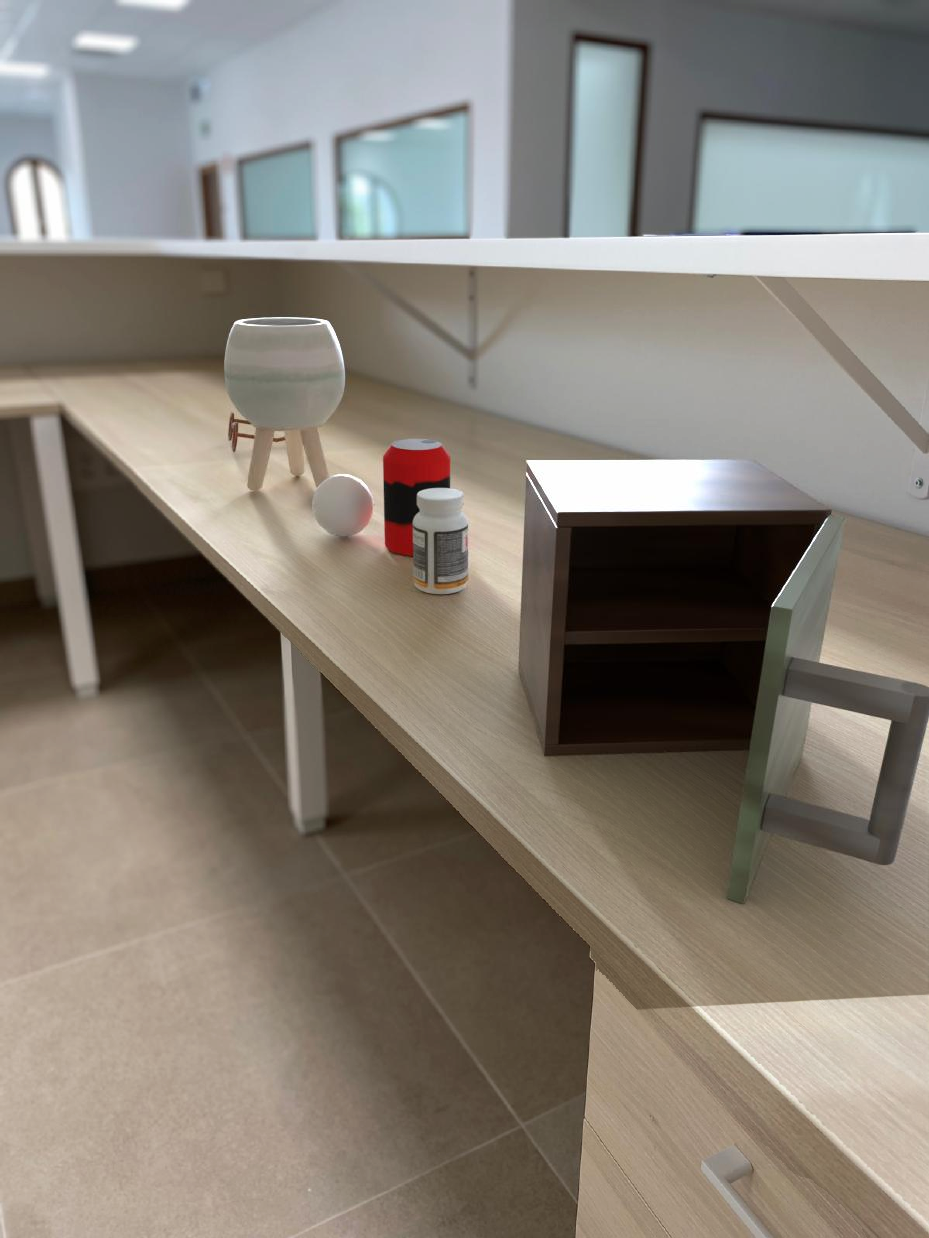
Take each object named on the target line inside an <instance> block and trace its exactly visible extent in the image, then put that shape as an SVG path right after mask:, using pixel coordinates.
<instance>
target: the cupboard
mask: <svg viewBox="0 0 929 1238" xmlns="http://www.w3.org/2000/svg"><path fill="white" fill-rule="evenodd" d="M525 473H526V474H525V493H524V494H525V497H524V519H523V520H524V521H523V542H522V544H523V545H522V567H521V568H522V569H521V589H520V590H521V593H520V617H519V643H518V668H517V670H518V674H519V677H520V680H521V683H522V687H523V690H524V695H525V697H526V701H527V704H528V707H529V711H530V714H531V717H532V721H533V725H534V727H535V728H534V729H535V731H536V735H537V738H538V741H539V745H540V747H541V752H542V755H543V757H570V756H572V757H573V756H574V757H575V756H604V755H605V756H606V755H607V756H609V755H640V754H641V755H643V754H673V753H675V754H676V753H709V752H741V751H743V752H744V751H749V749H750V742H751V736H752V729H753V723H754V716H755V710H756V704H757V697H758V691H759V684H760V678H761V671H762V665H763V658H764V652H765V646H766V639H767V633H768V626H769V620H770V613H771V607H772V605H773V603H774V602H775V600H776V599H777V597H778V596H779V594H780V592H781V591H782V589H783V588H784V586H785V584H786V583H787V581H788V580H789V578H790V576H791V575H792V573H793V572H794V570H795V569H796V567H797V565H798V564H799V562H800V561H801V559H802V557H803V556H804V554H805V553H806V551H807V549H808V548H809V546H810V545H811V543H812V542H813V540H814V538H815V537H816V535H817V534H818V532H819V530H820V529H821V527H822V526H823V524H824V522H825V521H826V519H827V518H828V516H829V515H832V513H833V510H832V509H831V508H830V507H828V506H826V505H825V504H823V502H820V501H819V500H817V499H816V498H814V497H813V496H811V495H810V494H808V493H806V492H804V491H803V490H802V489H800V488H798V487H797V486H795V484H792V483H791V482H789V481H788V480H786V479H784V478H783V477H782V476H780V475H778V474H777V473H775V472H774V471H772V470H770V469H769V468H767V467H766V466H765V465H763V464H761V463H760V462H758V461H756V460H755V459H599V460H598V459H596V460H595V459H590V460H589V459H588V460H587V459H586V460H583V459H581V460H575V459H573V460H572V459H571V460H562V459H561V460H526V470H525Z"/></svg>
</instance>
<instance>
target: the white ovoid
mask: <svg viewBox="0 0 929 1238" xmlns="http://www.w3.org/2000/svg"><path fill="white" fill-rule="evenodd" d="M329 477H330V478H328V479H326V480H324V481H323V482H322V483H321V484H320V485H319V486H318V488H317V487H316V489H315V492H314V494H313V495H312V503H311V508H312V509H311V510H312V513H313V517H314V519H315V520H316V522H317V523H318V525H319V526H320V527H321V528H322V529H323V530H324V531H325V532H327V533H329V534H331V535H334V536H336V537H337V536H338V537H350V536H351V537H352V536H353V535H356V534H359V533H360V532H361V531H363V530H364V529H365V528H367V526H368V525H369V523H370V522H371V520H372V517H373V515H374V508H375V507H376V504H375V502H374V497H373V494H372V493H371V490H370V488H369V487H368V486H367V484H365V483H364V482H363V481H362V480H361V479H360V478H358V477H356V476H353V475H350V474H346V473H345V474H334V475H332V476H329Z"/></svg>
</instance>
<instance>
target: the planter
mask: <svg viewBox="0 0 929 1238" xmlns="http://www.w3.org/2000/svg"><path fill="white" fill-rule="evenodd" d="M224 352H225V354H224V364H223V370H224V382H225V387H226V392H227V395H228V397H229V400H230V401H231V403H232V406H234V408H235V409H236V410H237V412H238V413H239V414H240V415H241V416H242V417H243V418H244V420H247V421H249V422H250V423H251V424H252V425H251V426H252V427H254V428H255V430H254V431H255V432H254V435H255V437H254V439H253V444H252V450H251V451H252V452H251V456H250V457H251V458H250V463H249V469H248V475H247V481H246V482H247V484H246V486H247V489H249V490H250V491H256V492H257V491H259V490H261V489H262V488H263V485H264V482H265V476H266V473H267V469H268V464H269V460H270V456H271V451H272V446H273V438H275V432H284V437H285V440H284V441H285V446H286V447H285V449H286V453H287V460H288V467H289V472H290V474H291V475H293V476H295V477H299V476H302V475H304V474H305V456H306V460H307V463H308V465H309V469H310V473H311V475H312V479H313V482H314V484H315V487H316V489H317V488H318V486H319V485H320V484H321V483H322V482H323V481H324V480H326V479H328V478H330V477H331V476H330V474H329V470H328V466H327V461H326V457H325V453H324V449H323V445H322V441H321V436H320V431H319V428H320V427H323V426H324V425H325V424H326V423H325V422H327V421H328V419H330V418H331V417H332V415H333V414H334V413H335V411H336V410H337V408H338V407H339V405H340V403H341V401H342V399H343V396H344V392H345V385H346V370H345V361H344V356H343V353H342V348H341V345H340V342H339V340H338V337H337V335H336V332H335V330H334V328H333V326H332V325H331V323H330V322H329V321H328V320H325V319H320V318H312V317H311V318H310V317H291V316H290V317H288V316H287V317H284V316H283V317H282V316H278V317H276V316H275V317H256V318H246V319H245V318H244V319H238V320H236V321H235V322H234V323H233V325H232V327H231V329H230V332H229V334H228V338H227V342H226V347H225V351H224ZM304 452H305V454H304ZM304 455H305V456H304Z"/></svg>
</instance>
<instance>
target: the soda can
mask: <svg viewBox="0 0 929 1238" xmlns="http://www.w3.org/2000/svg"><path fill="white" fill-rule="evenodd" d="M451 458H452V457H451V455H450V453H449V452H448V451H447V450H446V448H445V447H444V446H443V444H442V442H441V441H438V440H435V439H427V438H405V439H399V440H395V441H393V442H391V444H390V446H389V447H388V449H387V450H386V451H385V452H384V454H383V456H382V474H383V475H382V476H383V483H382V484H383V523H384V524H383V525H384V526H383V527H384V528H383V529H384V530H383V531H384V533H383V534H384V546H385V548H387V549H388V550H389V552H392V553H393V554H397V555H400V556H407V557H413V519H414V517H415V515H416V514H417V513H419V512H420V509H419V508H418V506H417V493H418V492H419V491H422V490H425V489H430V488H450V489H451Z"/></svg>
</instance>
